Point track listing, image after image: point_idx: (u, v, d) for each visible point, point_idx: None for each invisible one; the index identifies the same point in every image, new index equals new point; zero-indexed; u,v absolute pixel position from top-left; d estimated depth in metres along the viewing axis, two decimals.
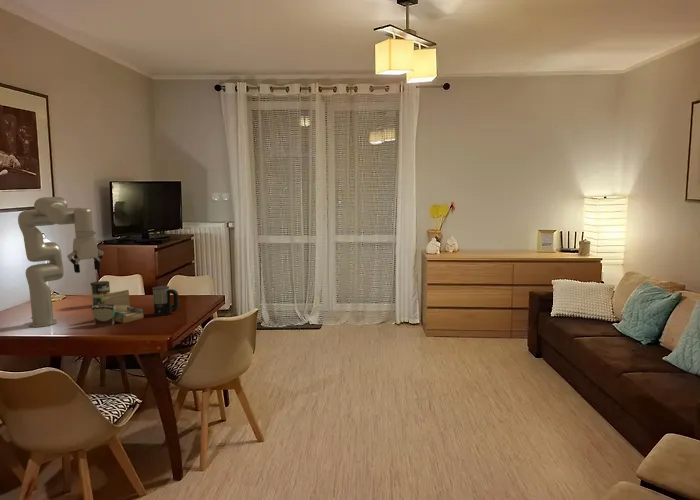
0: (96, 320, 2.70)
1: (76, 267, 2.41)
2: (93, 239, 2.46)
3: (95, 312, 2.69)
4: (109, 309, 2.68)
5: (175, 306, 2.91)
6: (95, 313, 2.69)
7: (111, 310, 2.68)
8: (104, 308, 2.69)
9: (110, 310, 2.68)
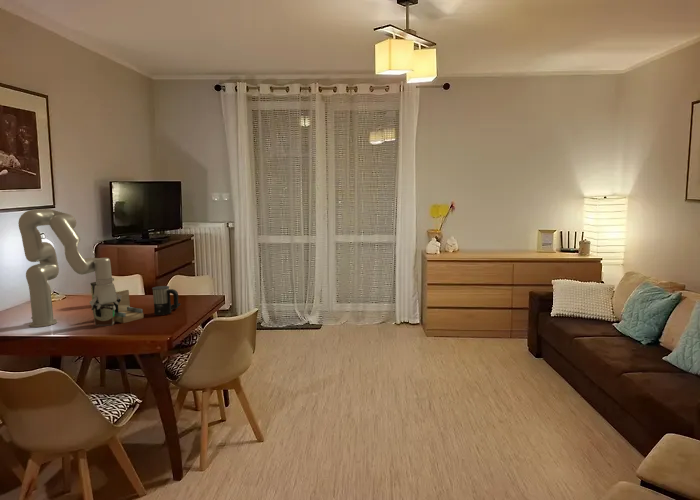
0: (96, 320, 2.70)
1: (97, 312, 2.67)
2: (112, 285, 2.71)
3: (95, 312, 2.69)
4: (109, 309, 2.68)
5: (175, 306, 2.91)
6: (95, 313, 2.69)
7: (111, 310, 2.68)
8: (104, 308, 2.69)
9: (110, 310, 2.68)
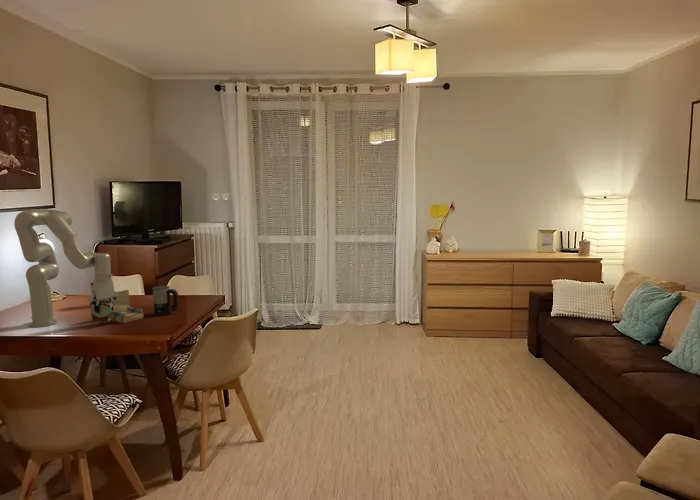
0: (93, 316, 2.70)
1: (96, 308, 2.67)
2: (110, 281, 2.71)
3: (92, 308, 2.70)
4: (106, 306, 2.68)
5: (175, 306, 2.91)
6: (92, 308, 2.70)
7: (107, 307, 2.68)
8: (101, 304, 2.69)
9: (107, 307, 2.68)
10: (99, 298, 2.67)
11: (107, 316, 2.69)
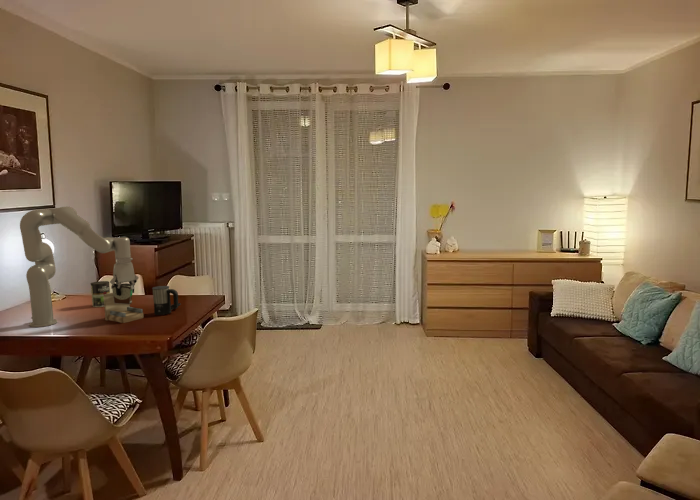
0: (115, 298, 2.78)
1: (118, 290, 2.75)
2: (131, 264, 2.79)
3: (114, 291, 2.77)
4: (127, 288, 2.76)
5: (175, 306, 2.91)
6: (114, 291, 2.78)
7: (129, 289, 2.76)
8: (122, 287, 2.76)
9: (128, 289, 2.76)
10: (120, 281, 2.74)
11: (129, 298, 2.76)
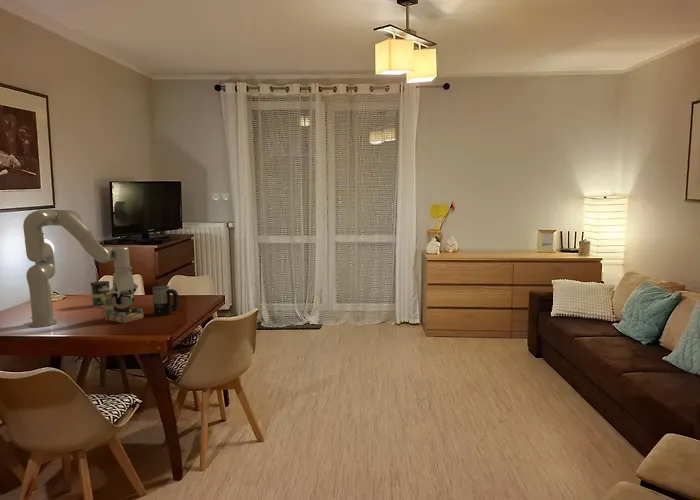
0: (115, 307, 2.79)
1: (117, 299, 2.76)
2: (130, 273, 2.80)
3: (114, 300, 2.79)
4: (127, 297, 2.77)
5: (175, 306, 2.91)
6: (114, 300, 2.79)
7: (128, 298, 2.77)
8: (122, 296, 2.78)
9: (127, 298, 2.77)
10: (120, 290, 2.76)
11: (128, 307, 2.78)
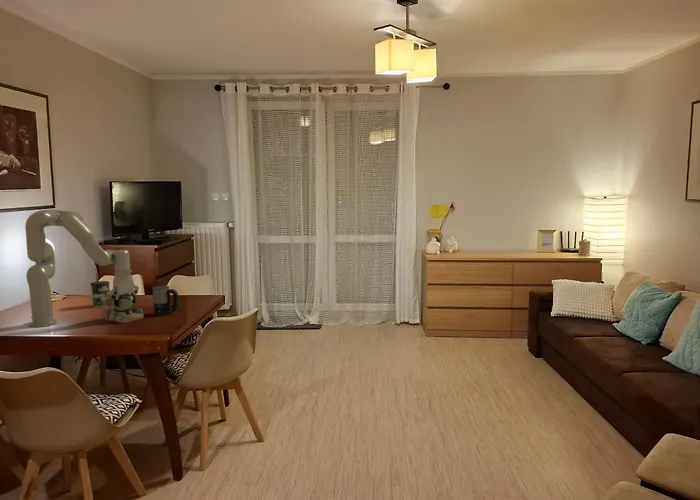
0: (115, 309, 2.80)
1: (116, 302, 2.76)
2: (130, 277, 2.80)
3: None
4: (126, 299, 2.77)
5: (175, 306, 2.91)
6: None
7: (128, 300, 2.77)
8: (122, 298, 2.78)
9: (127, 300, 2.77)
10: (120, 293, 2.76)
11: (128, 309, 2.78)
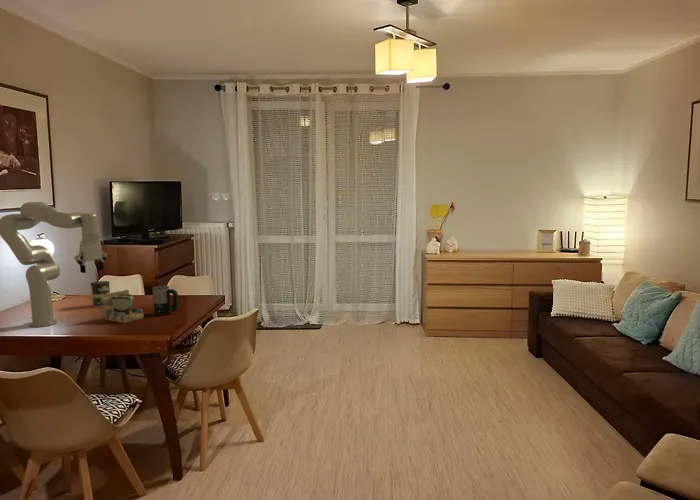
0: (115, 309, 2.80)
1: (82, 268, 2.61)
2: (98, 242, 2.66)
3: (114, 302, 2.79)
4: (126, 299, 2.77)
5: (175, 306, 2.91)
6: (114, 302, 2.79)
7: (128, 300, 2.77)
8: (122, 298, 2.78)
9: (127, 300, 2.77)
10: (87, 259, 2.61)
11: (128, 309, 2.78)
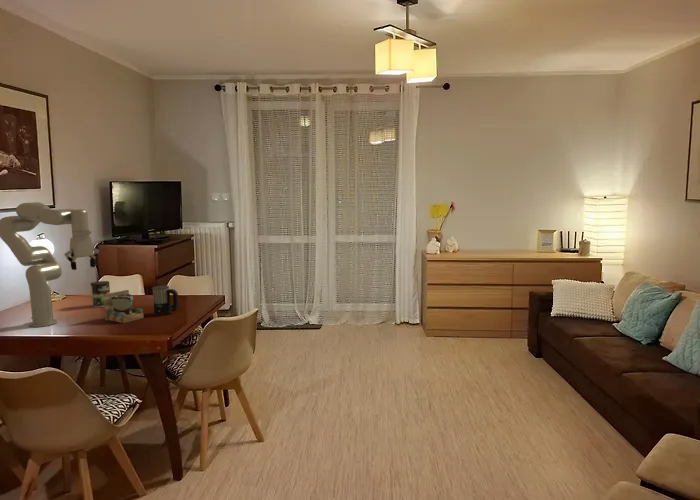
0: (115, 309, 2.80)
1: (73, 264, 2.57)
2: (89, 238, 2.62)
3: (114, 302, 2.79)
4: (126, 299, 2.77)
5: (175, 306, 2.91)
6: (114, 302, 2.79)
7: (128, 300, 2.77)
8: (122, 298, 2.78)
9: (127, 300, 2.77)
10: (77, 255, 2.58)
11: (128, 309, 2.78)
